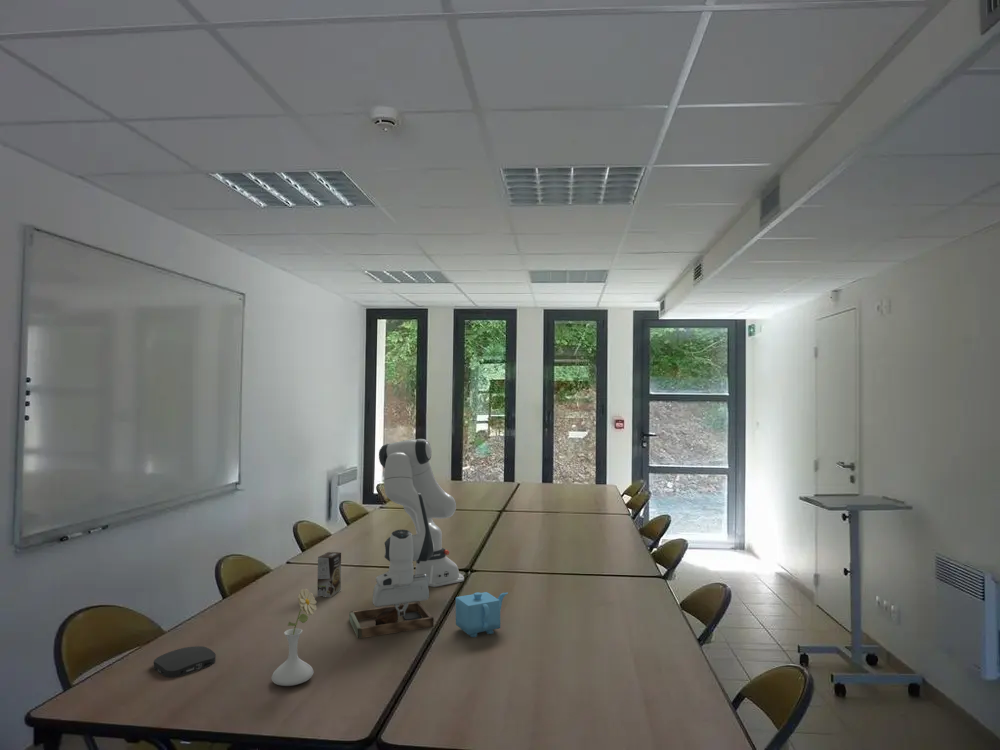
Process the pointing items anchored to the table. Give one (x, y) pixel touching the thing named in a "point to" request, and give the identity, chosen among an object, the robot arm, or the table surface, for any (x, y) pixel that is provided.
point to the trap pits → (412, 616)
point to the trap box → (390, 627)
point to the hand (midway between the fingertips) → (401, 615)
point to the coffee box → (329, 574)
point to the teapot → (478, 613)
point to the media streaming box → (184, 661)
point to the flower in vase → (294, 667)
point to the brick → (387, 616)
